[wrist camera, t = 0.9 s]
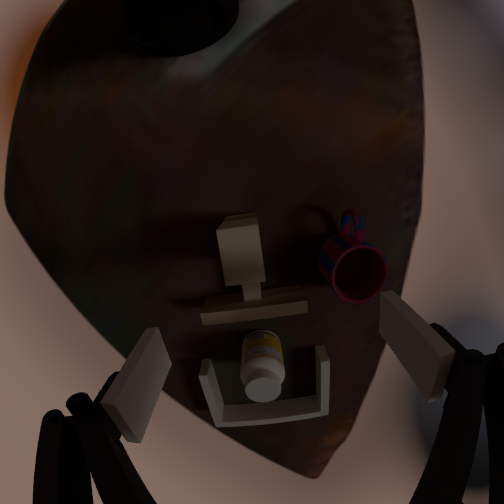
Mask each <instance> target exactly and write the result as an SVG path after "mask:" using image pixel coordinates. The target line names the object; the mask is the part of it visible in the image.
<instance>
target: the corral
mask: <svg viewBox="0 0 504 504" xmlns="http://www.w3.org/2000/svg"><path fill="white" fill-rule="evenodd" d="M315 357H316V395H311V396H306V397H299V398H293V399H286V400H278V401H269V402H260V403H249V404H236V405H224V403H223V400H222V396H221V393H220V390H219V386H218V383H217V379H216V376H215V372H214V368H213V365H212V361H211V359H203V360H202V364H201V368H200V371H199V375H198V376H199V379H200V383H201V386H202V389H203V392H204V395H205V397H206V400H207V403H208V406H209V409H210V412H211V414H212V417H213V420H214V423H215V425H216V427H233V426H249V425H261V424H271V423H280V422H288V421H295V420H301V419H308V418H313V417H319V416H324V415H328V410H329V379H330V360H329V357H328V355H327V353H326V350H325V348H324V345H318V346H315Z"/></svg>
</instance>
